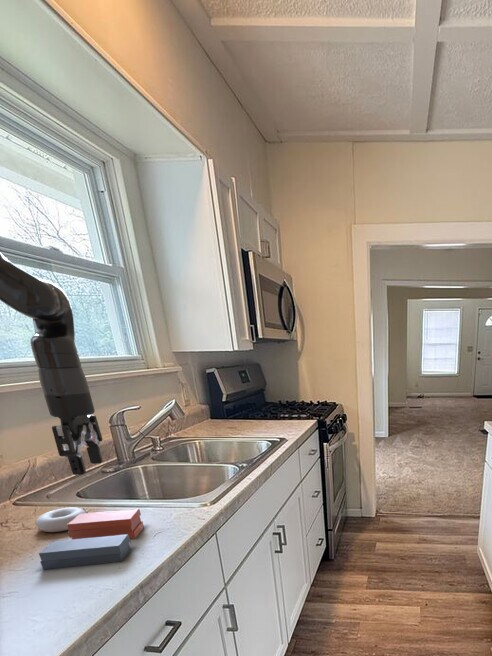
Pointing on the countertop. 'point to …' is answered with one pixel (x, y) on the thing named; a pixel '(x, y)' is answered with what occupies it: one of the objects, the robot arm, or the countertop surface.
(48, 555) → the grey rectangular block
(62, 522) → the donut
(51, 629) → the countertop surface
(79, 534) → the orange-red flat block
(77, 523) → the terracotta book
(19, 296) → the robot arm
